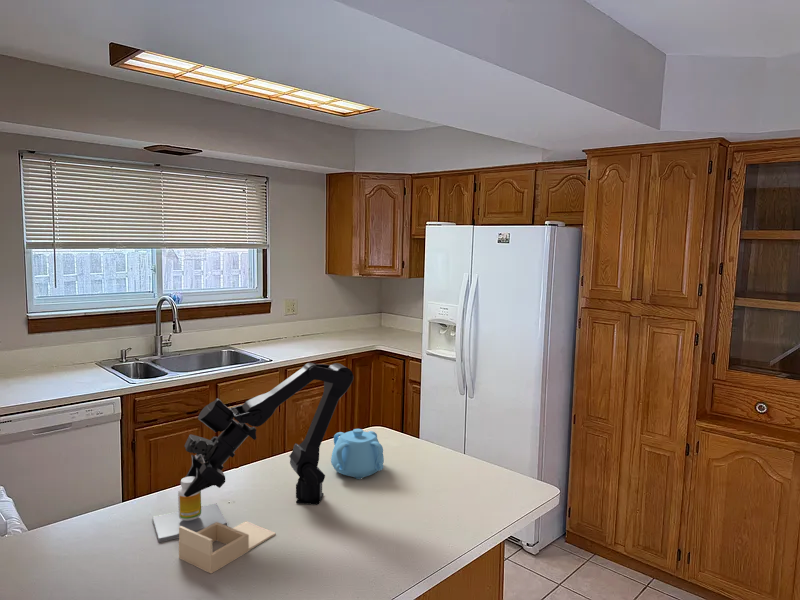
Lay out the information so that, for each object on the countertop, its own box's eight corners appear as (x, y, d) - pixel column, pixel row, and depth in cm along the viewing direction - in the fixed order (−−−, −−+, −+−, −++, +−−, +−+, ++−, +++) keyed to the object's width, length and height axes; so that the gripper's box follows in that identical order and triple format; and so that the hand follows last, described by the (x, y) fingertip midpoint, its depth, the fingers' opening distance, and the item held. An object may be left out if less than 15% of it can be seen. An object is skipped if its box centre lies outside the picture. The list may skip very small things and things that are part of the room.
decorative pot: (329, 482, 170) (329, 439, 169) (332, 461, 186) (333, 421, 185) (383, 482, 171) (384, 439, 170) (382, 461, 187) (383, 421, 185)
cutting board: (216, 506, 153) (216, 503, 153) (227, 526, 143) (227, 522, 143) (152, 520, 145) (152, 516, 145) (158, 542, 135) (158, 538, 135)
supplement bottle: (204, 516, 143) (203, 480, 142) (183, 523, 140) (182, 485, 139) (196, 508, 148) (195, 473, 147) (175, 515, 144) (174, 478, 143)
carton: (245, 522, 145) (245, 494, 144) (276, 534, 139) (276, 505, 139) (179, 558, 128) (178, 526, 128) (211, 573, 123) (210, 540, 122)
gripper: (199, 413, 151) (155, 460, 147) (210, 435, 135) (161, 488, 131) (229, 437, 156) (188, 483, 152) (244, 461, 139) (198, 513, 135)
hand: (183, 491), depth 142 cm, fingers open, 5 cm apart
